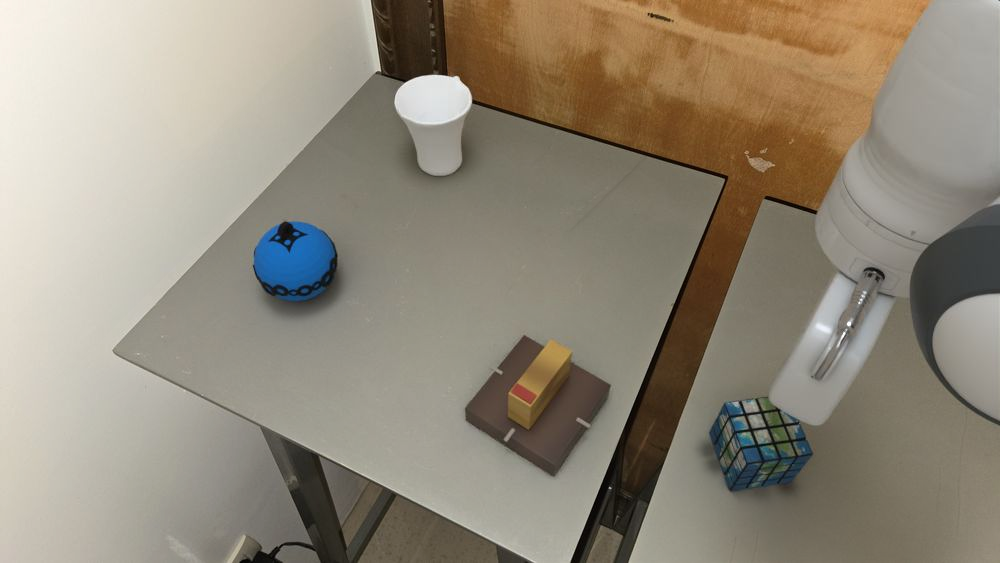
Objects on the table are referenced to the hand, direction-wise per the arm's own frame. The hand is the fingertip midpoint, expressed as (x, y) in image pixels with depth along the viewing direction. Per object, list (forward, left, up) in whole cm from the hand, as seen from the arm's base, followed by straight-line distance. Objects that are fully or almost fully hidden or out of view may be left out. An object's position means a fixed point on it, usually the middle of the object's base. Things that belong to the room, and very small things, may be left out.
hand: (819, 348), depth 55 cm
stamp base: (+19, +7, -19) cm, 28 cm away
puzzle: (0, 0, -19) cm, 19 cm away
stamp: (+19, +7, -17) cm, 26 cm away
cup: (+48, -15, -19) cm, 54 cm away
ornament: (+48, +9, -19) cm, 53 cm away
